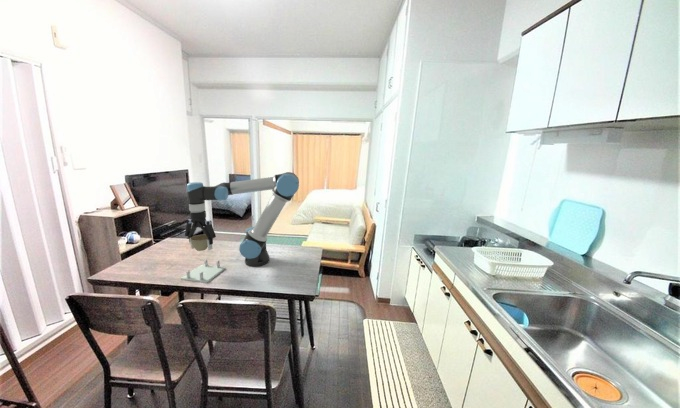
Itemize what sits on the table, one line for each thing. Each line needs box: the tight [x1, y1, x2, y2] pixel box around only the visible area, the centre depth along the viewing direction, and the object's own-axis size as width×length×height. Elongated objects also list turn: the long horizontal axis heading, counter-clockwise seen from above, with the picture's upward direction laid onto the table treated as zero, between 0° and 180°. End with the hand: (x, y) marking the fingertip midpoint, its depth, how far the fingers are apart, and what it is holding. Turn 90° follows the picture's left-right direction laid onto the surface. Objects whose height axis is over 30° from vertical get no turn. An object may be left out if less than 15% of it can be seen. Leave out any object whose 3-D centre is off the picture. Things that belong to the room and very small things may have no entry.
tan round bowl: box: [190, 233, 208, 252], centre depth 133 cm, size 10×10×7 cm
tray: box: [180, 259, 226, 284], centre depth 137 cm, size 16×16×5 cm
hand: (201, 248), depth 134 cm, fingers closed on tan round bowl, 10 cm apart
